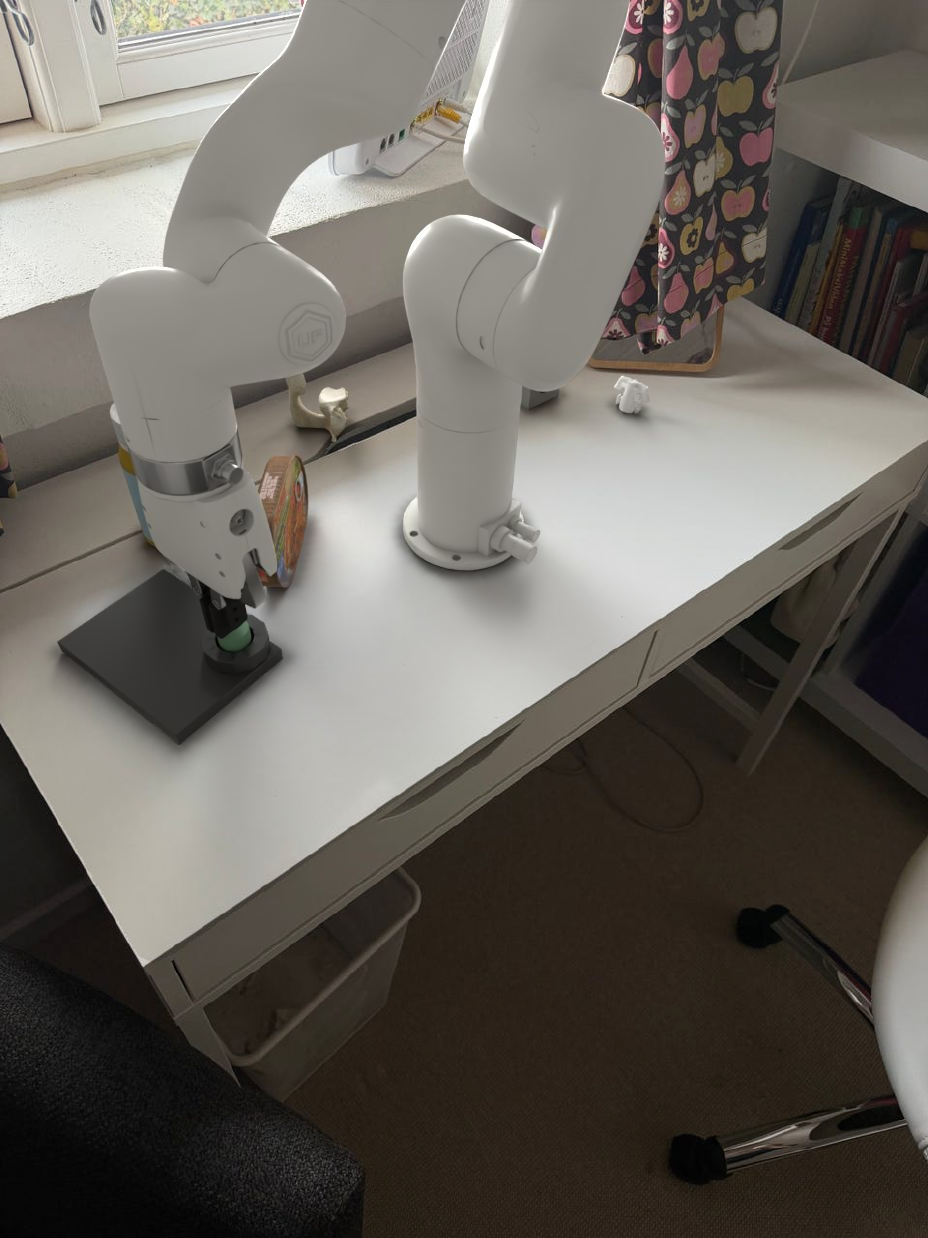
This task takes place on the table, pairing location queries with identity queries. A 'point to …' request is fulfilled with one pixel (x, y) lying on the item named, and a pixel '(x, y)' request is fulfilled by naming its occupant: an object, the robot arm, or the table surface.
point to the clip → (631, 394)
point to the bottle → (129, 473)
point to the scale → (168, 656)
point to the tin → (284, 514)
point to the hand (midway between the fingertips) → (228, 625)
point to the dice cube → (536, 397)
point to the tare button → (236, 639)
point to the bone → (329, 404)
